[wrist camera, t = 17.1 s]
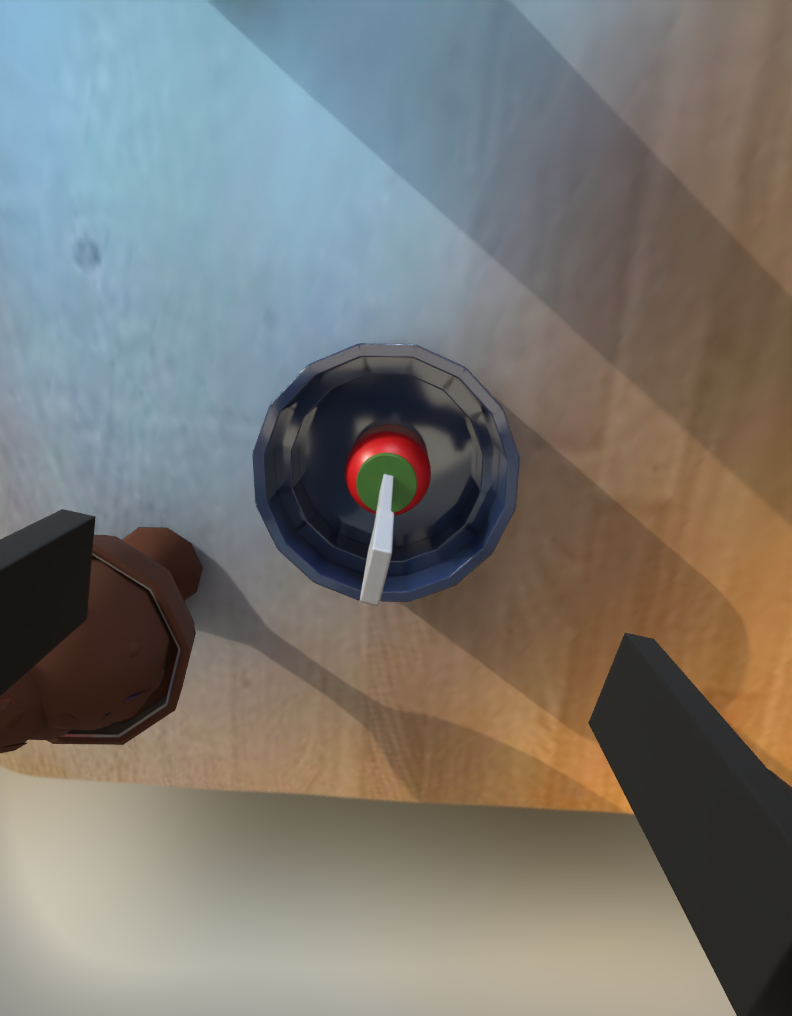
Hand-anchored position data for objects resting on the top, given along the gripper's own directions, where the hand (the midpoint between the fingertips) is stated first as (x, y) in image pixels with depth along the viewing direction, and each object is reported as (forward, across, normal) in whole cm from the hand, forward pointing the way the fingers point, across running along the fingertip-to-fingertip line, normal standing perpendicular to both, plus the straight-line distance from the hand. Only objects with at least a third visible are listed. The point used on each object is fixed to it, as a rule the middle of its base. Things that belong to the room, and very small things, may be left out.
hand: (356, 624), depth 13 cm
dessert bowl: (+19, 0, 0) cm, 19 cm away
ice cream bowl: (+20, -12, -10) cm, 25 cm away
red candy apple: (+19, 0, 0) cm, 19 cm away
